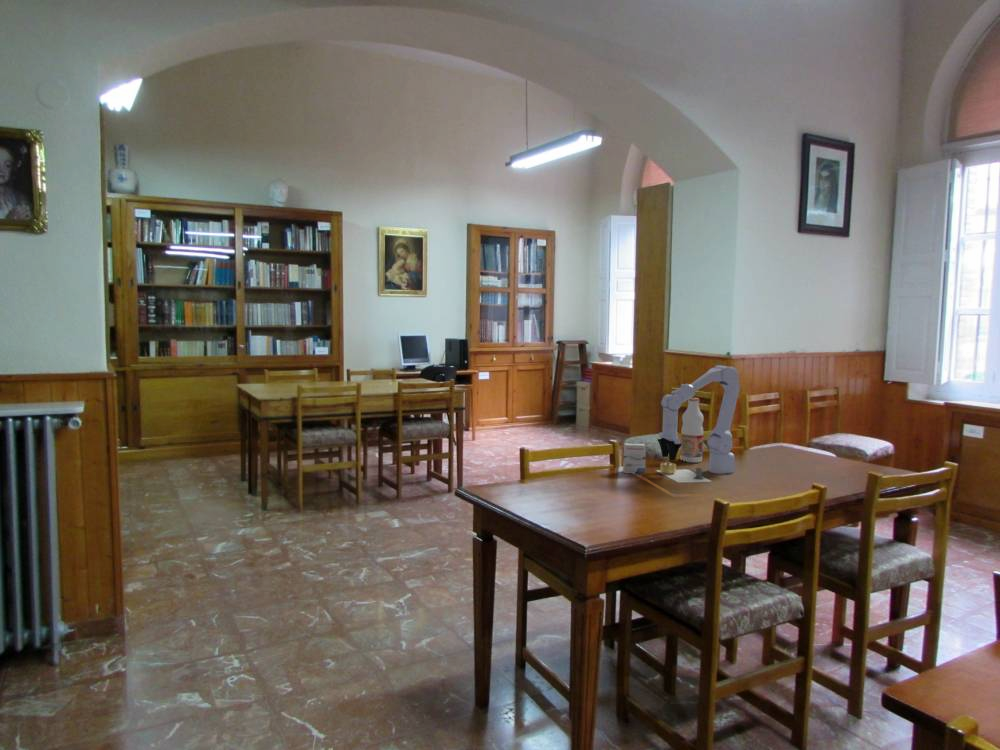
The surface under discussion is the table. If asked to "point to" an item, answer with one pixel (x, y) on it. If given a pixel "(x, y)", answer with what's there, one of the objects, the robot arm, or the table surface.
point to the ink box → (634, 458)
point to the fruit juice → (692, 433)
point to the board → (687, 476)
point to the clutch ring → (668, 468)
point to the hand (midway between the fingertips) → (668, 458)
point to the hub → (668, 464)
